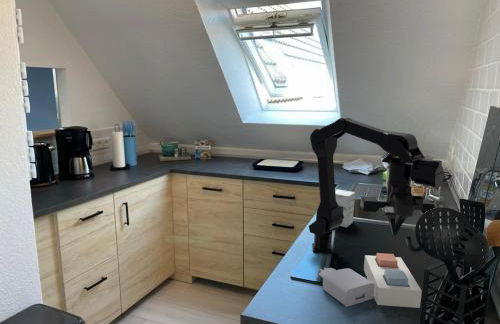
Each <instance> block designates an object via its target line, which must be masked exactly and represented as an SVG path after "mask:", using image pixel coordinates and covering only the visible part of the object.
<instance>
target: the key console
mask: <svg viewBox="0 0 500 324" xmlns="http://www.w3.org/2000/svg"><path fill="white" fill-rule="evenodd" d="M395 258H396V259H397V261H398V262H397V268H390V267H378V265H377V263H376V255H368V254H367V255H366V254H365V255H364V263H363V271H364V274H365V277H366V276H367V277H366V279H367V280H369V281H371V282H372V283H374V284H375V286H374V297H373V298H374V300H375V303H376V305H377V306H390V307H391V306H392V307H400V308H401V307H402V308H415V309H416V308H417V309H420V308H421V300H422V292H423V291H422V289H421V287H420V285H419V284H418V283H417V281H416V279H415V278H414V276H413V275H412V273H411V272H410V270H409V268H408V266H407V265H406V263H405V262H404V260H403V259H402V257H401V256H400V257H399V256H398V257H396V256H395ZM385 269H386V270H401V271H404V273H405V275H406V276H407V278H408V287H403V286H389V285H387V284H386V282H385V280H384V270H385Z"/></svg>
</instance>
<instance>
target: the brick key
mask: <svg viewBox="0 0 500 324" xmlns="http://www.w3.org/2000/svg"><path fill="white" fill-rule="evenodd" d="M375 256H376V263H377V265H378V267H390V268H397V262H398V261H397V259H396V258H395V257H396V256H395V255H394V253H381V252H376V254H375Z"/></svg>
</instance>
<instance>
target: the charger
mask: <svg viewBox="0 0 500 324" xmlns="http://www.w3.org/2000/svg"><path fill="white" fill-rule="evenodd" d="M318 270H319V271H320V272H319V274H318V275H319V277H321V278H322V290H323V291H324V292H326V293H327V294H329V295H330V296H332V297H333V298H334V299H336V301H338V302H339V303H341V304H342V305H343V306H345V307H346V308H347V307H350V306H354V305H357V304H360V303H363V302H366V301H369V300H372V299H373V298H374V286H375V284H374V283H372V282H371V281H369V280H368V279H367V277H365V276H362V275H361V274H359V273H357V272H356V271H355V270H353V269H350V268H349V267H348V268H342V269H341V268H340V269H337V270H336V269H335V268H332V267H329V268H328V267H327V268H326V267H324V268H323V269H322V268H319V269H318Z"/></svg>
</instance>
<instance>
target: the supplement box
mask: <svg viewBox="0 0 500 324" xmlns="http://www.w3.org/2000/svg"><path fill="white" fill-rule="evenodd" d="M335 194H336V202H337V204H338V205H339V206H343V215H344V219H343V222H342V224H341V225H340V226H339V227H343V228H348V227H349V226H351V224H353V223H354V211H355V200H356V192H355V191H350V190H343V189H335Z"/></svg>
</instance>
